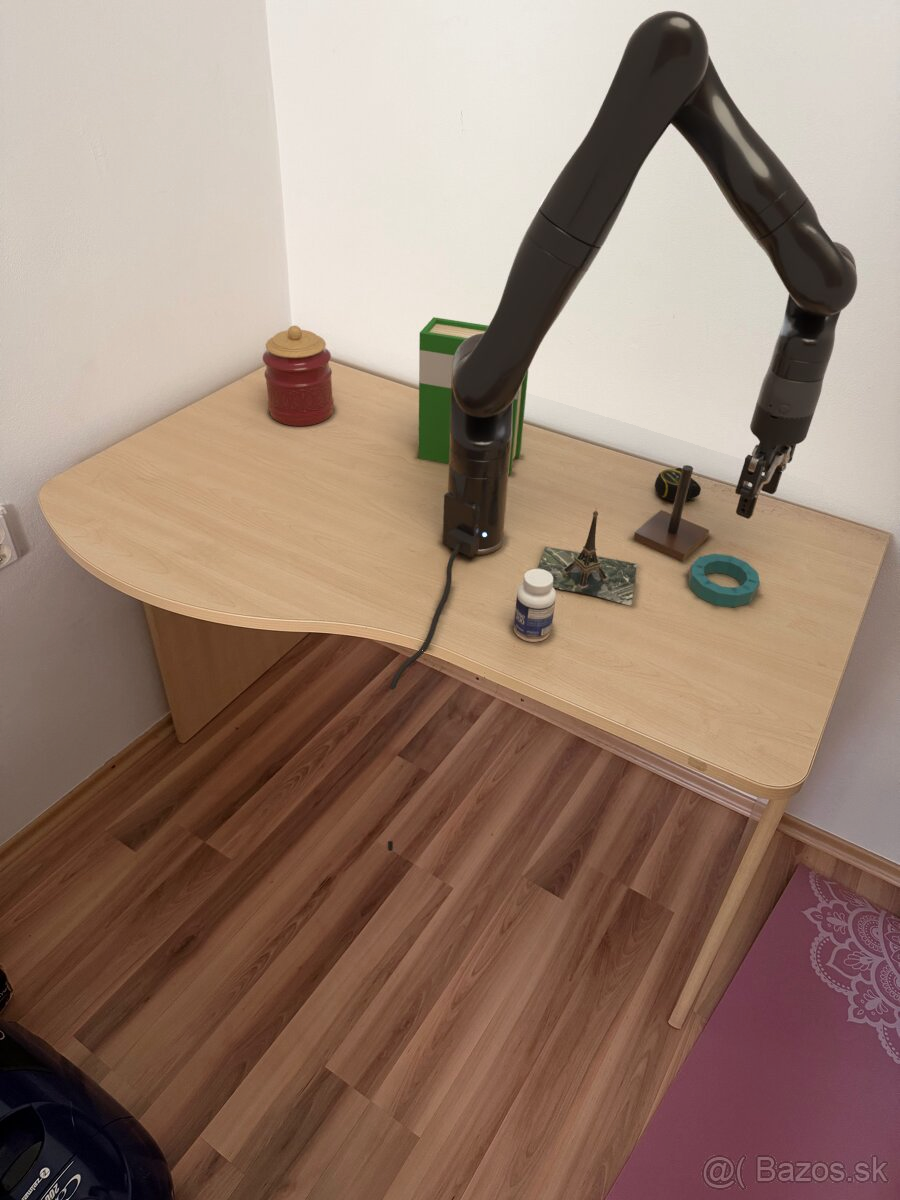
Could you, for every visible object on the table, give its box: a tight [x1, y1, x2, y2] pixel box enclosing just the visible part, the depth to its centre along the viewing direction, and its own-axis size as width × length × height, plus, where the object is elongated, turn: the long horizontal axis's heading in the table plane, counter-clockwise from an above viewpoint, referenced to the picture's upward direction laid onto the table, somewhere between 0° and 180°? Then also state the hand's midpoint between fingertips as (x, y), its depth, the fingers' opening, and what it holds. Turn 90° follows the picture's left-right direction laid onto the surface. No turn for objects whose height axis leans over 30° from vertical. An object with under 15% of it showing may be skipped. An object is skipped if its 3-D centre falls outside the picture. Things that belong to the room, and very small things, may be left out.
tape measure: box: [654, 467, 702, 502], centre depth 147 cm, size 7×7×4 cm
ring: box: [687, 553, 761, 608], centre depth 128 cm, size 10×10×2 cm
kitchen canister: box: [262, 325, 335, 427], centre depth 163 cm, size 13×13×18 cm
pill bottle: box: [513, 568, 557, 643], centre depth 117 cm, size 5×5×10 cm
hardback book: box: [417, 316, 529, 477], centre depth 149 cm, size 18×7×24 cm, turn 72°
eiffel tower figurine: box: [537, 506, 638, 607], centre depth 126 cm, size 15×10×13 cm
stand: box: [632, 464, 710, 562], centre depth 134 cm, size 9×9×14 cm
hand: (755, 503), depth 123 cm, fingers open, 8 cm apart
